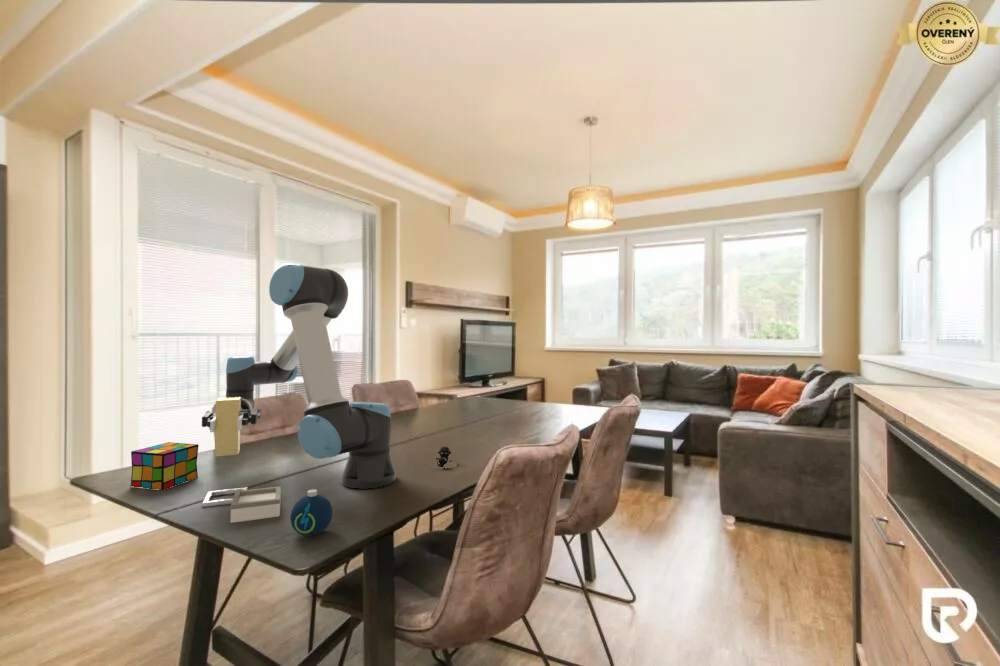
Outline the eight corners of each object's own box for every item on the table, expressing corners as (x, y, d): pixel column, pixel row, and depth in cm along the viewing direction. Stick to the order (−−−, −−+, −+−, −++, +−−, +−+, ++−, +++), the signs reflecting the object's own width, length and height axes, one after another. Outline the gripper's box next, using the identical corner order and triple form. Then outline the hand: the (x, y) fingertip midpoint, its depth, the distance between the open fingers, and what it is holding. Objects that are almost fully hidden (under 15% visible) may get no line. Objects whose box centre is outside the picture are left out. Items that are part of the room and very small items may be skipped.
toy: (162, 491, 123) (163, 454, 123) (130, 488, 125) (131, 451, 125) (197, 478, 134) (198, 444, 134) (168, 475, 136) (168, 442, 136)
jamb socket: (247, 490, 124) (247, 487, 124) (244, 502, 116) (244, 498, 116) (208, 495, 120) (208, 491, 120) (202, 507, 112) (202, 503, 112)
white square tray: (280, 501, 116) (280, 486, 116) (279, 516, 107) (279, 499, 107) (235, 507, 112) (235, 491, 112) (230, 522, 103) (230, 505, 103)
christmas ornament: (280, 538, 96) (281, 491, 96) (310, 523, 104) (311, 479, 104) (312, 546, 93) (313, 496, 93) (340, 529, 101) (341, 484, 101)
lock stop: (239, 449, 121) (240, 397, 121) (237, 454, 117) (238, 399, 117) (217, 451, 119) (218, 398, 119) (214, 456, 115) (215, 400, 115)
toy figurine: (426, 470, 146) (426, 452, 146) (430, 461, 156) (430, 444, 156) (457, 470, 147) (458, 452, 147) (459, 462, 157) (459, 445, 157)
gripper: (270, 421, 138) (266, 438, 117) (199, 425, 130) (181, 444, 109) (270, 397, 138) (266, 408, 117) (200, 399, 131) (182, 412, 109)
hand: (225, 425), depth 113 cm, fingers closed on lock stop, 5 cm apart
